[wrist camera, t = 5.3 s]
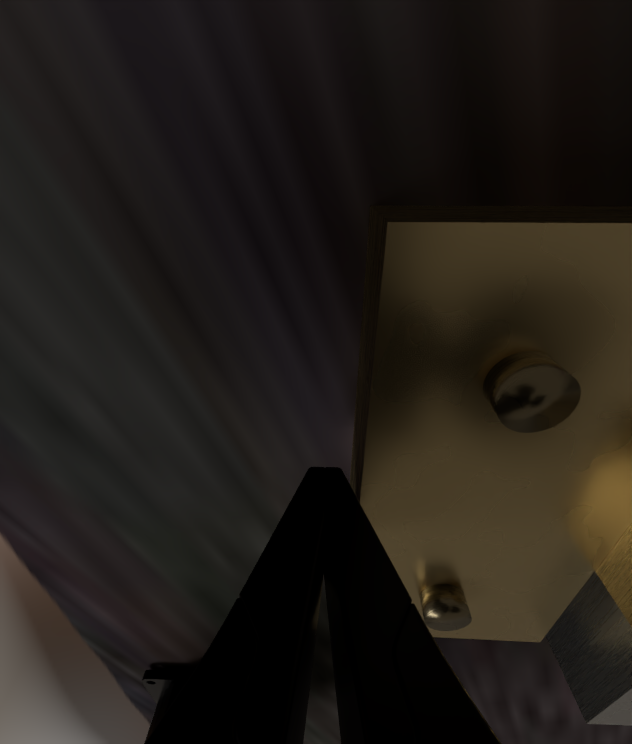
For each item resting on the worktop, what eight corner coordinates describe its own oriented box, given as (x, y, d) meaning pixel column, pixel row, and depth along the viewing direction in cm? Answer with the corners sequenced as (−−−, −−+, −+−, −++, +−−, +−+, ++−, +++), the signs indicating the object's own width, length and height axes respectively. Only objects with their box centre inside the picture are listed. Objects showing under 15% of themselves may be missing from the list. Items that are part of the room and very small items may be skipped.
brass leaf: (601, 565, 13) (702, 715, 9) (344, 555, 13) (348, 696, 9) (877, 206, 6) (1519, 249, 3) (369, 205, 7) (410, 242, 3)
